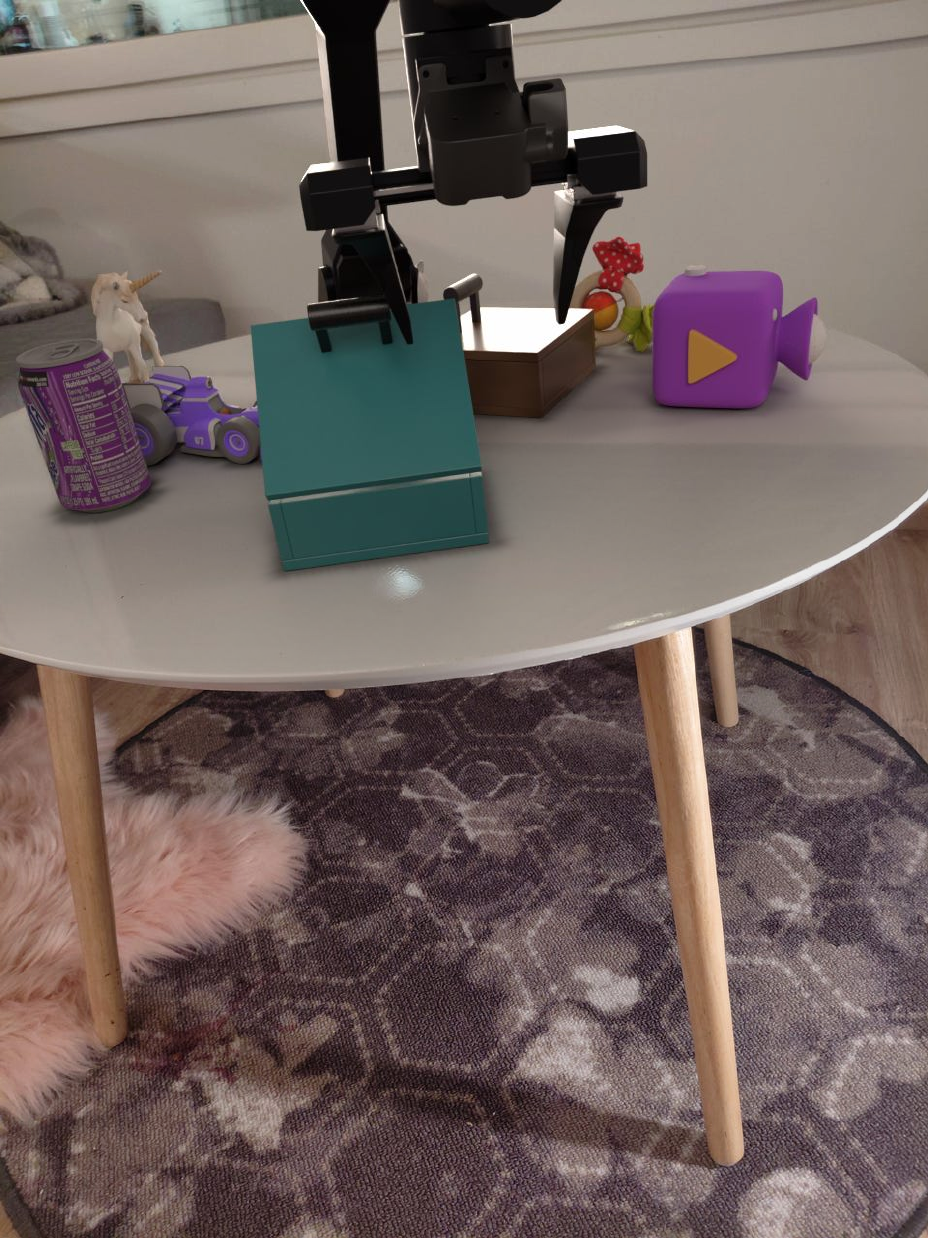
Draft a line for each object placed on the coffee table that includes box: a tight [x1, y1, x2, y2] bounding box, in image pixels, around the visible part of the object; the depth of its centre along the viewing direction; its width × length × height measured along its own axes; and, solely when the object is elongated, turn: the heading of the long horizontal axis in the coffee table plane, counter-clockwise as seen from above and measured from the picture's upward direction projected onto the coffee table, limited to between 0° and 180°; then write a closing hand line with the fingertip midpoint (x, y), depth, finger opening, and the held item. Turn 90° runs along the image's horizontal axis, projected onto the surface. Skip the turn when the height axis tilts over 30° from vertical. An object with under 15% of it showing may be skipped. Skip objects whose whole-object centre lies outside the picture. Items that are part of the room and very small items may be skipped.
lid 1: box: [250, 294, 483, 502], centre depth 59 cm, size 12×14×5 cm
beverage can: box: [15, 338, 152, 514], centre depth 72 cm, size 7×7×12 cm
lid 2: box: [442, 273, 594, 362], centre depth 84 cm, size 12×14×5 cm
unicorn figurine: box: [90, 269, 166, 383], centre depth 95 cm, size 7×20×13 cm, turn 26°
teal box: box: [267, 471, 490, 572], centre depth 65 cm, size 12×14×5 cm
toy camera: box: [651, 264, 827, 409], centre depth 78 cm, size 11×14×10 cm
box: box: [465, 318, 597, 419], centre depth 87 cm, size 12×14×5 cm
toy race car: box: [121, 365, 262, 467], centre depth 81 cm, size 10×15×6 cm, turn 72°
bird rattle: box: [569, 236, 655, 353], centre depth 92 cm, size 6×11×9 cm
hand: (485, 332), depth 57 cm, fingers open, 9 cm apart
